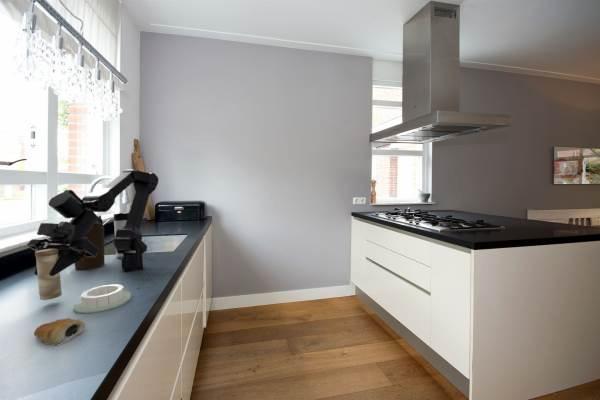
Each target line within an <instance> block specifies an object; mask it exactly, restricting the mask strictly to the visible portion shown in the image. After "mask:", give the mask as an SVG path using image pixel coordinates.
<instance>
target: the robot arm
mask: <svg viewBox="0 0 600 400" xmlns="http://www.w3.org/2000/svg"><path fill="white" fill-rule="evenodd" d="M158 183H159V177H158V175H157V174H155V173H154V172H146V171H140V170H138V169H125V170H123V171H122V172H121V174H120V175H118V176H117V177H116V178H114V179H113V180H112V181H110V182H109V183H108V184H106V185H105V186H104V187H103V188H101V189H98V190H94V191H92V192H90V193H88V194H86V195H84V196H83V197H82V198H80V196H78V195H77V194H76V193H75V191H73V190H72V189H65V190H63V192H60V193H59V194H56V195H55V196H53V197H51V198H50V200H49V201H48V205H49V206H50V207H51V208H52V209H53V210H54V211H56V213H58V214H60V215H61V216H62V217H63V218H64V219H70V221H60V222H59V223H53V222H47V223H46V222H41V223H40V224H39V227H38V229H37V232H36V235H37V236H45V237H48V238H49V239H47V238H33V239H30V241H29V242H28V243H27V244H26V247H28V248H30V249H31V250H33V251H35V252H36V251H39V250H44V249H54V248H56V249H58V252H59V251H60V255H59V256H58V258H59V259H58V260H57V262H56V263H55V265H54V267H53V268H52V270H51V272H50V274H49V275H50V276H54V275H56V274H58V273H59V272H60V273H61V272H62V271H64V270H66V269H67V268H69V267H71V266H73V265H75V263H76V262H77V261H79V260H81V259H84V257H83V255H84V253H85V255H86V257H95V256H96V255H97V253H98V247H97V246H95V245H94V244H93V243H91V242H90V241H89V240H83V239H84V238H89V236H90V235H89V234H88V232H89V231H90V229H91V228H92V227H93V225H94V224H102V223H103V224H104V222H103V219H102V215H99V214H98V215H97V213H106V212H109V211H110V209H111V208H112V207H113V205H114V204H115V203H116V198H117V197H118V196H120V195H121V194H122V193H123V192H124V191H125V190H126V189H127V188H128V187H129V186H131V185H132V184H133V185H132V186H133V188H134V196H133V200H132V202H131V206H130V209H129V212H128V213H129V215H128V218H127V221H126V225H125V227H124V228H122V229H118V230H117V231H116V236H115V235H114V238H113V241H114V242H113V245H114V247H115V251H116V250H117V252H118V254H123V257H121V259H120V260H121V261H120V262H121V269H122V270H123V272H132V271H137V270H143V269H144V268H145V267H144V264H143V263H144V262H143V261H144V259H143V254H144V253H146V252H147V250H148V245H147V244H145V242H144V241H143V240H142V239H143V234H142V232H141V225H142V222H143V219H144V218H143V217H144V214H145V211H146V207H147V204H148V201H149V198H150V196H151V194H153V192H155V190H156V188H157V186H158ZM34 275H36V276H38V273H37V265H36V266H35V270H34Z"/></svg>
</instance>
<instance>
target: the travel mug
mask: <svg viewBox="0 0 600 400" xmlns="http://www.w3.org/2000/svg"><path fill="white" fill-rule="evenodd" d="M128 215H129V212H125V213H124V212H119V213H114V214H113V226H114V237H115V236H116V231H117V230H118V229H122V228H124V227H125V225H126V221H127V218H128ZM121 257H123V254H118V252H117V250H116V249H115V258H116V259H119V258H121Z"/></svg>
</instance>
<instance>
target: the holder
mask: <svg viewBox="0 0 600 400" xmlns="http://www.w3.org/2000/svg"><path fill="white" fill-rule="evenodd" d="M80 298H81V299H80V300H78V301H76V302H75V303H74V304H73V311H74V312H76V313H78V314H94V313H95V314H96V313H101V312H105V311H109V310H112V309H116V308H117V307H120V306H123V305H124V304H126V303H128V302H129V301H130V299H131V298H132V293H131V292H130V291H128V290H124V285H122V284H117V283H115V284H105V285H99V286H95V287H93V288H90V289H87V290H85V291H83V292H82V293H81V296H80Z"/></svg>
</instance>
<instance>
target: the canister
mask: <svg viewBox="0 0 600 400" xmlns="http://www.w3.org/2000/svg"><path fill="white" fill-rule="evenodd" d="M34 256H35V259H36V266H37V273H38V275H37V281H38V282H37V285H38V291H39V294H38V295H39V300H40V301H48V300H53V299H57V298H59V297H60V296H62V282H61V272H59V273H58V274H56V275H54V276H50V275H49V274H50V272H51V270H52V268H53V267H54V265H55V263H56V262H57V260H58V259H59V258H58V257H59V251H58V249H56V248H54V249H44V250H39V251H35V252H34Z"/></svg>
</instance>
